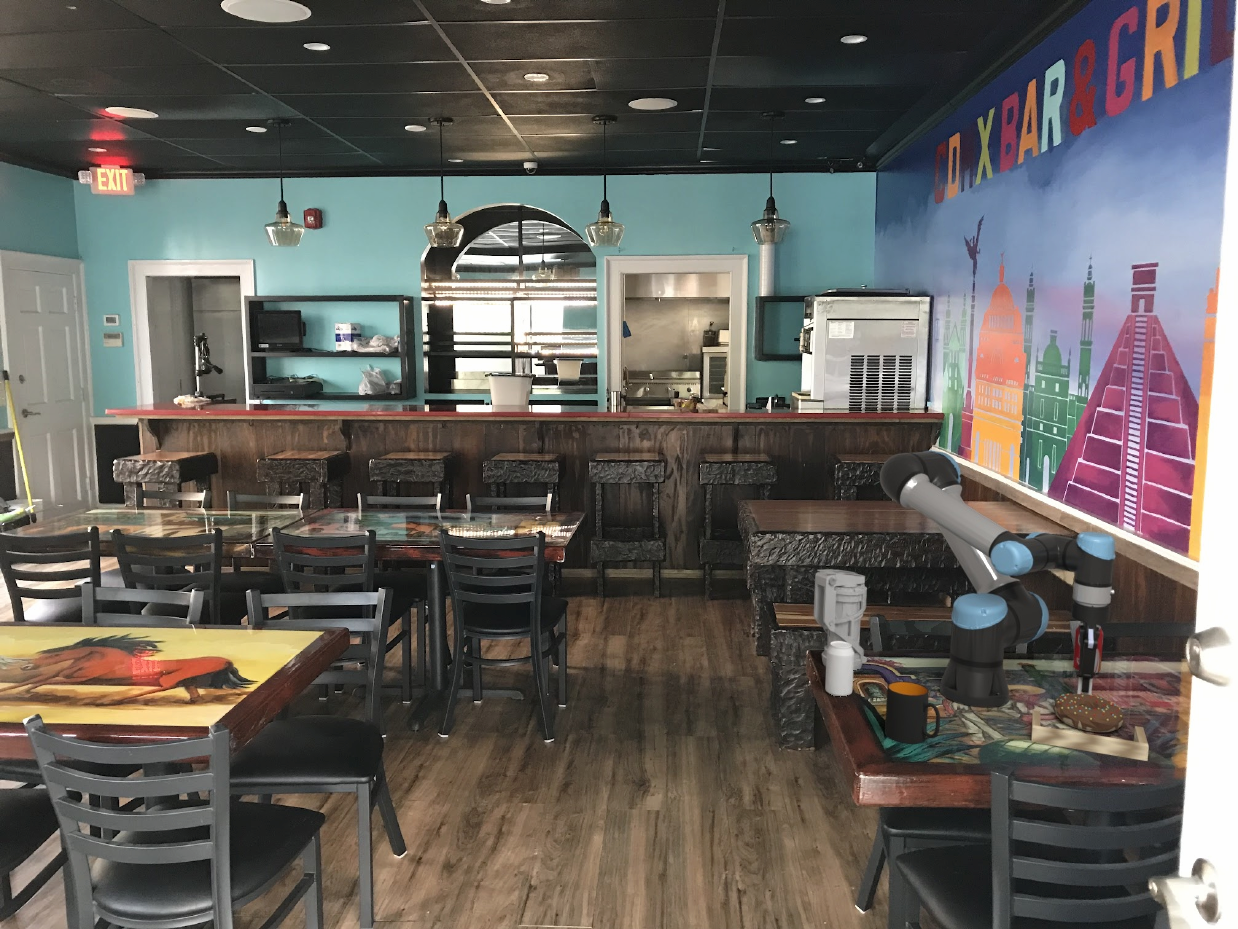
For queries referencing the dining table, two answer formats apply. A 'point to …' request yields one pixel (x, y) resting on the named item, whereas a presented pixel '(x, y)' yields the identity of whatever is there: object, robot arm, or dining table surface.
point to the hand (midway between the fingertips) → (1083, 704)
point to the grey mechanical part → (840, 609)
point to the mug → (908, 713)
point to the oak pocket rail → (1091, 741)
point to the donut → (1088, 712)
